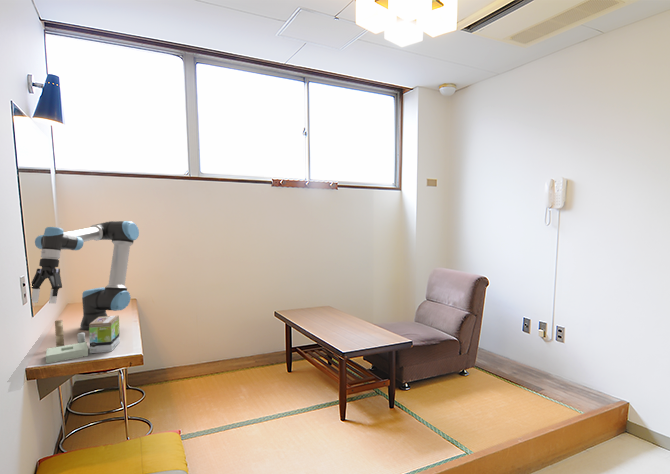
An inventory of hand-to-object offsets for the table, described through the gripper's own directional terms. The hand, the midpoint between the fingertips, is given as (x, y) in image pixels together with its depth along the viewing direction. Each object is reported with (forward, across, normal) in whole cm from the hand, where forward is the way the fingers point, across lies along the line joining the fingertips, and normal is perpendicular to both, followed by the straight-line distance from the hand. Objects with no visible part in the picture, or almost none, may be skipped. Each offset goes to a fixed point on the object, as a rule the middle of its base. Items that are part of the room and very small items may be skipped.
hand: (43, 303), depth 182 cm
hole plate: (+25, +10, +8) cm, 28 cm away
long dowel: (+22, -5, +14) cm, 27 cm away
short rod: (+22, +4, +19) cm, 29 cm away
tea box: (+22, +16, +23) cm, 36 cm away
